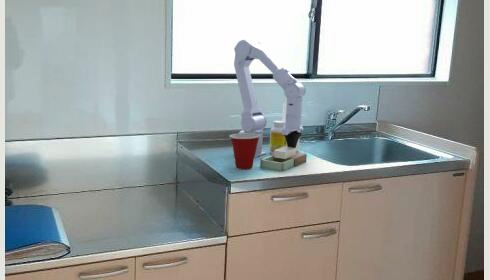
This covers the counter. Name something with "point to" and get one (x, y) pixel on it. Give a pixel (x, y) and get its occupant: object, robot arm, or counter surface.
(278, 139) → the supplement bottle
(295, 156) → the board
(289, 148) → the tile back
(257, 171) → the counter surface
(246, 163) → the plastic cup
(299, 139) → the milk
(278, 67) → the robot arm
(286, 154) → the tile front
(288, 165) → the tray
